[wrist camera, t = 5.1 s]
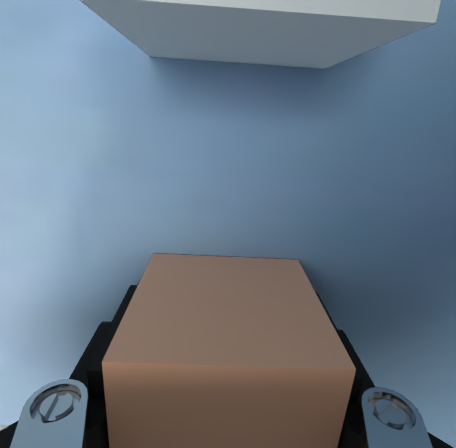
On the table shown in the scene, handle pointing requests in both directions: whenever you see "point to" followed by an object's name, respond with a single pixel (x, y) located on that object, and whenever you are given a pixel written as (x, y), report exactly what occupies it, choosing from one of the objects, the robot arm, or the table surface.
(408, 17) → the grey blue block
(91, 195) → the table surface
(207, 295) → the terracotta block
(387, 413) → the robot arm
